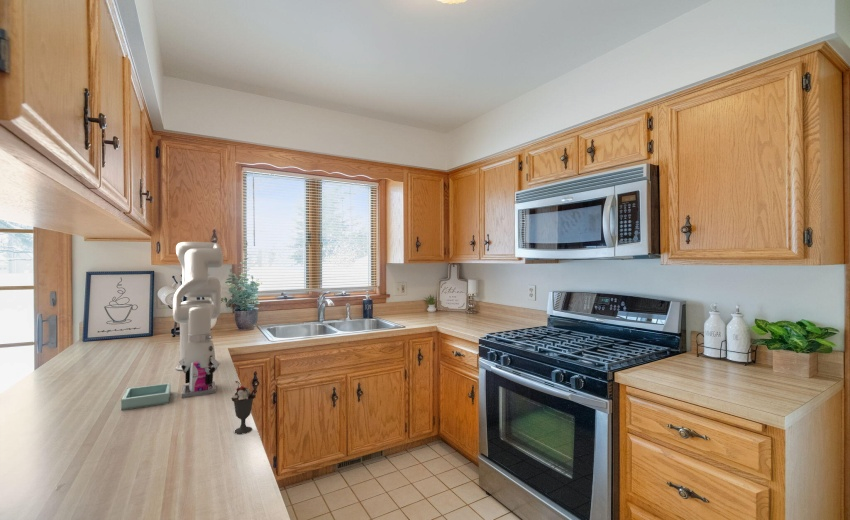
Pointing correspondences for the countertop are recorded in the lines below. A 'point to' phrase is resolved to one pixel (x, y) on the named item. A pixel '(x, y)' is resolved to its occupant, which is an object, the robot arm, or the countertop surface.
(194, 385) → the supplement box
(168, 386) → the bin
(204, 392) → the collar
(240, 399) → the sundae
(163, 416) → the countertop surface
